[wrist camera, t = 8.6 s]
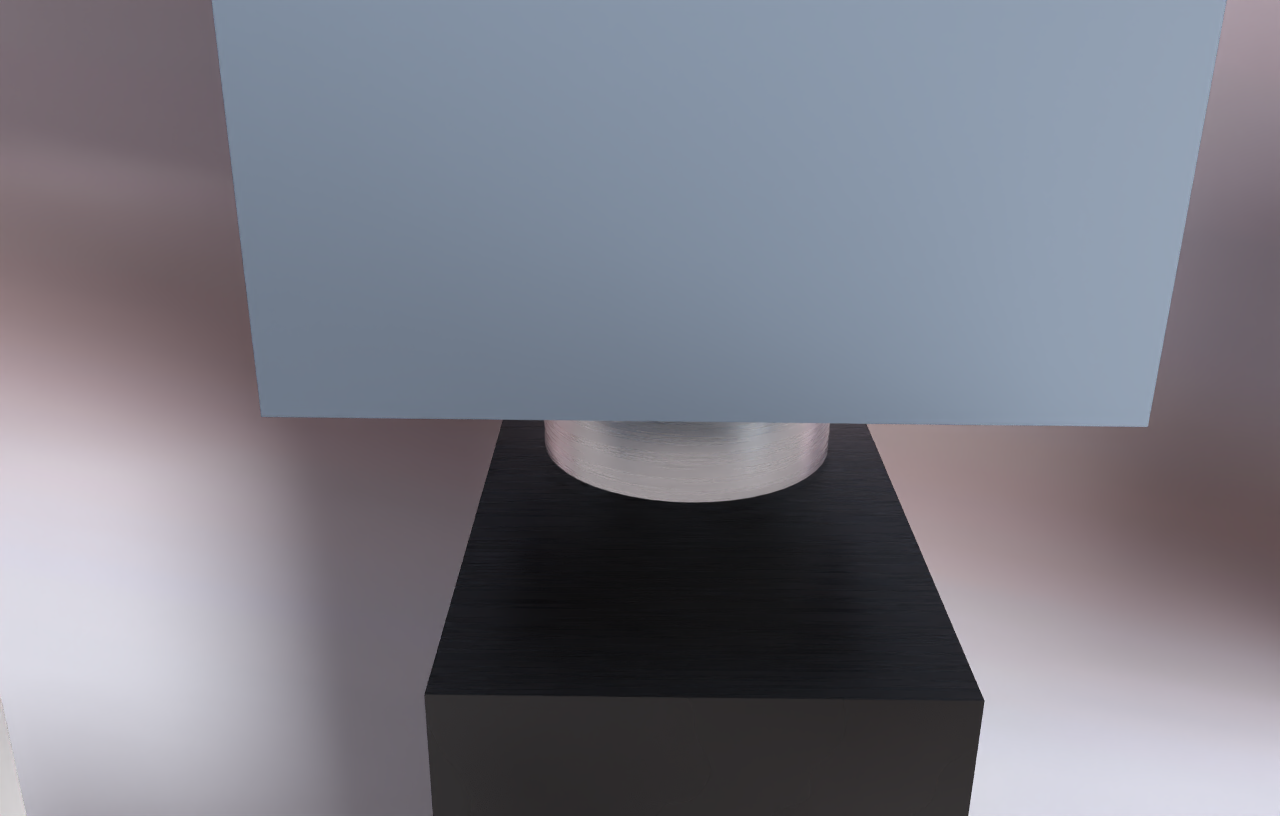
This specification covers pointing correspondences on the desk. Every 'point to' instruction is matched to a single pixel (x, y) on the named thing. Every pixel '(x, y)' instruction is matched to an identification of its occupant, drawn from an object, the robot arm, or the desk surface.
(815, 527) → the metal rod with block
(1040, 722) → the desk surface
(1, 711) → the robot arm
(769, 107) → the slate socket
